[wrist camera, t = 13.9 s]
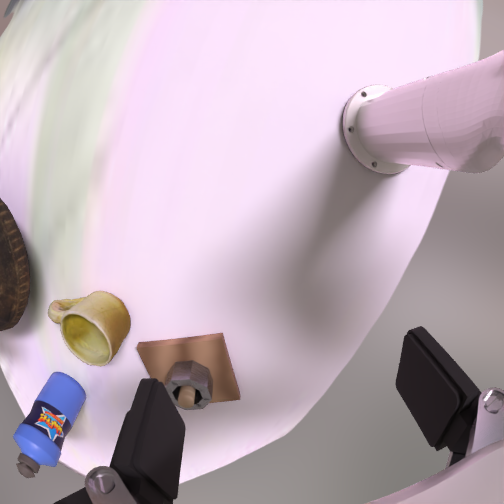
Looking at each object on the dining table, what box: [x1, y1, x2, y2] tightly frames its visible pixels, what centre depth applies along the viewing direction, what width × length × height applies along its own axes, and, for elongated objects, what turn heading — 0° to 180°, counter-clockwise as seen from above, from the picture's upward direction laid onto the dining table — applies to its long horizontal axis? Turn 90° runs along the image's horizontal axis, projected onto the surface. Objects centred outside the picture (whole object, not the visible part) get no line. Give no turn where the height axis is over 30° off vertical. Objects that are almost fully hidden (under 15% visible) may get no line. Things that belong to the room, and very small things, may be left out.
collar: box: [164, 360, 213, 410], centre depth 40 cm, size 7×7×4 cm
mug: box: [48, 291, 131, 366], centre depth 36 cm, size 12×10×10 cm
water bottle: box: [13, 372, 86, 478], centre depth 33 cm, size 9×9×25 cm
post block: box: [137, 333, 240, 408], centre depth 40 cm, size 14×14×8 cm
